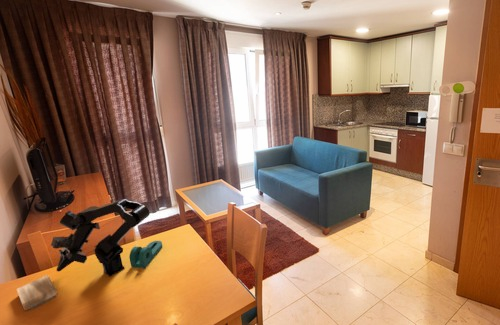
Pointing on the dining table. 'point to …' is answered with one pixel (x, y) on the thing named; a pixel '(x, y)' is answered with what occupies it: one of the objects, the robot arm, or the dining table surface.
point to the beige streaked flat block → (36, 292)
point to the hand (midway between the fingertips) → (57, 271)
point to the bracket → (144, 254)
